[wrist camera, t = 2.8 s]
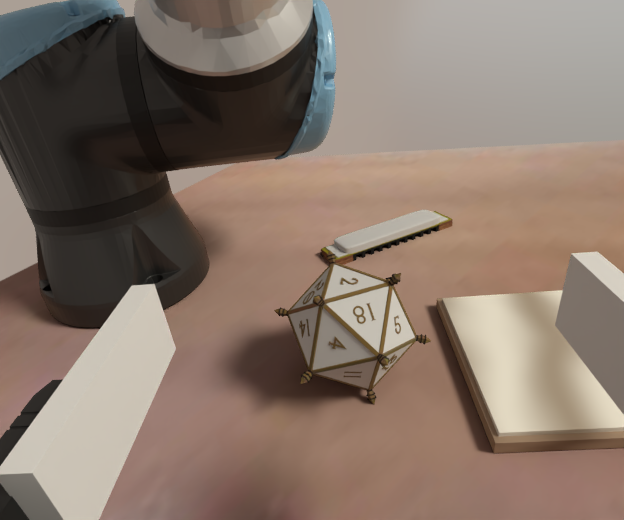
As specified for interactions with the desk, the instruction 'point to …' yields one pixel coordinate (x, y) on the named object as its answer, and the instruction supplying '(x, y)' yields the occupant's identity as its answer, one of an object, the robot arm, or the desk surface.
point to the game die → (351, 327)
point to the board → (528, 375)
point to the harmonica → (385, 235)
